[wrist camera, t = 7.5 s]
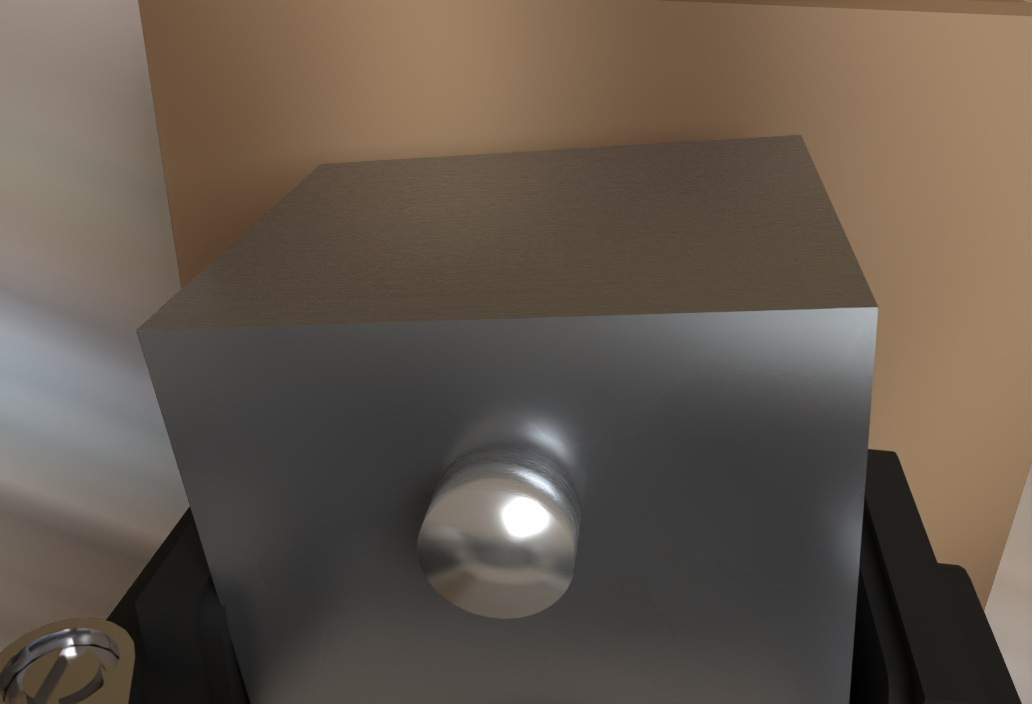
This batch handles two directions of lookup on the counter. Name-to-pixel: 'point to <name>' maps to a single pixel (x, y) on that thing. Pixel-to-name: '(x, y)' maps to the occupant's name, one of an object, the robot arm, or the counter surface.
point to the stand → (666, 119)
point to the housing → (532, 429)
